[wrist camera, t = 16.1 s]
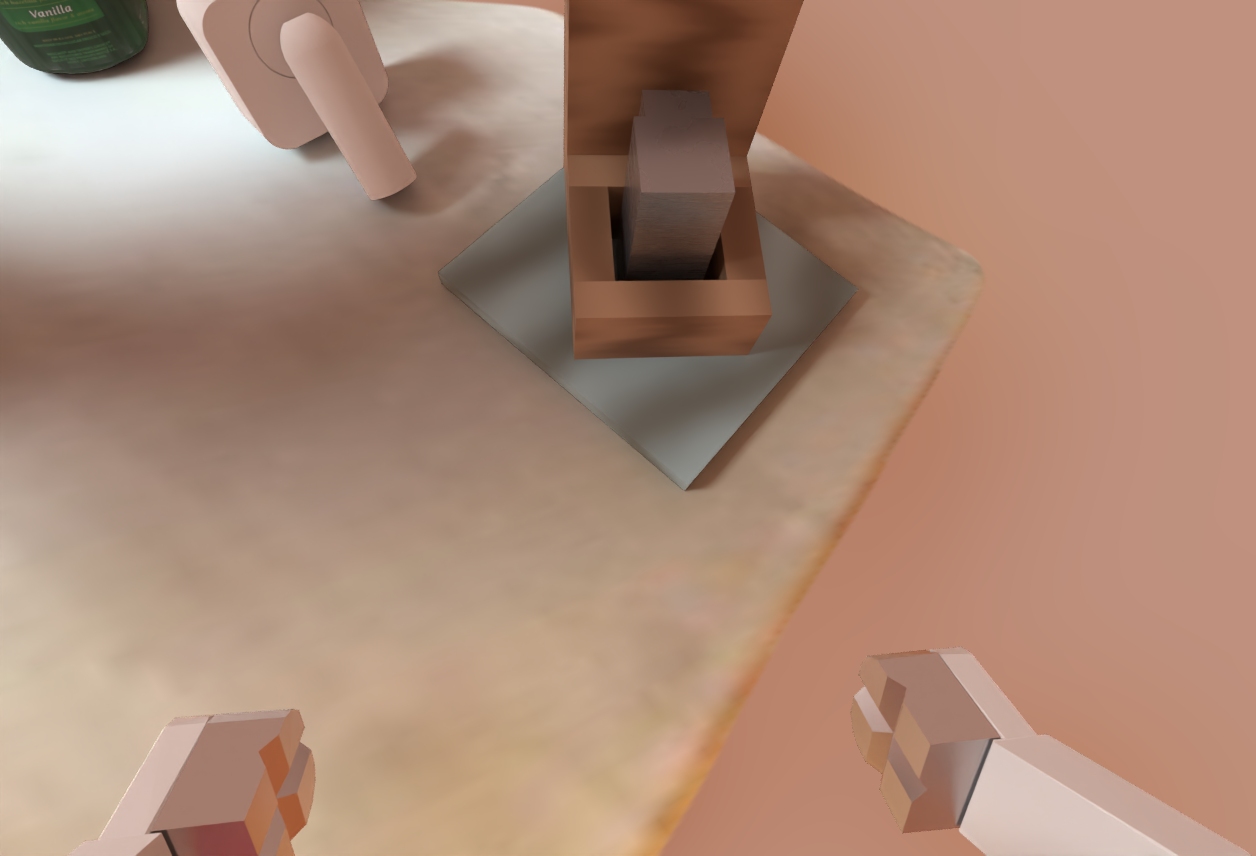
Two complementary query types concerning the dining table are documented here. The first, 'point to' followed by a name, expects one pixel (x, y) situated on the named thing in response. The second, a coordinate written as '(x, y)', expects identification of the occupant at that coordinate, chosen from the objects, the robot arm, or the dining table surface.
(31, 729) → the dining table surface
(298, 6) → the wall hook
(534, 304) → the wooden square ring bracket
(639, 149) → the pin
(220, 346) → the dining table surface
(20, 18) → the coffee jar
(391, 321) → the dining table surface
